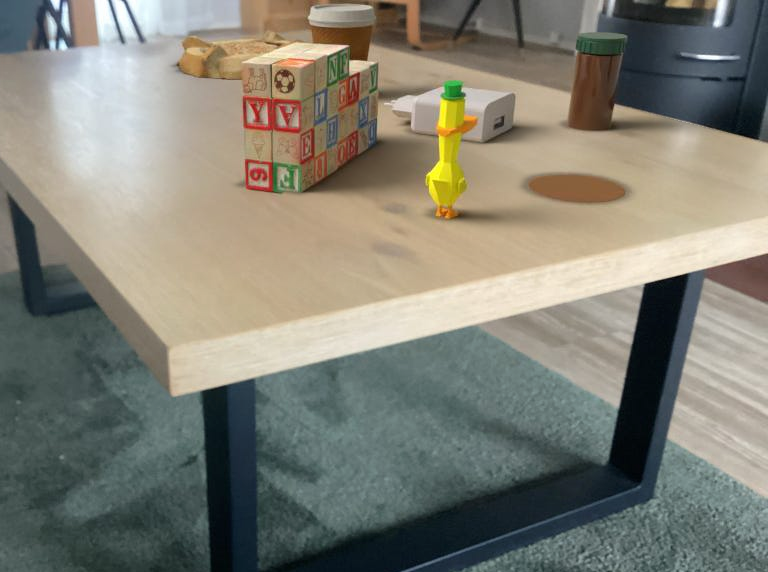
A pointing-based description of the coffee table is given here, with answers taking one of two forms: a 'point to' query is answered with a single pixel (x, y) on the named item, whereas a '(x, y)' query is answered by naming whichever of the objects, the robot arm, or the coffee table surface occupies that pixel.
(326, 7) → the disposable coffee cup
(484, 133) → the charger
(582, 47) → the lid
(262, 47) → the tan flat lumpy slab
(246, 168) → the stack of blocks
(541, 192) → the coaster
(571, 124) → the jar
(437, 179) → the toy figure
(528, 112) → the coffee table surface
